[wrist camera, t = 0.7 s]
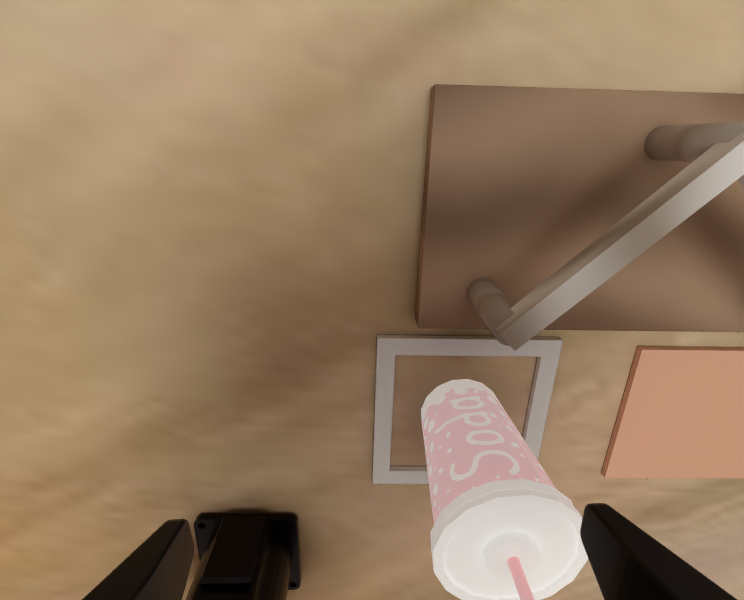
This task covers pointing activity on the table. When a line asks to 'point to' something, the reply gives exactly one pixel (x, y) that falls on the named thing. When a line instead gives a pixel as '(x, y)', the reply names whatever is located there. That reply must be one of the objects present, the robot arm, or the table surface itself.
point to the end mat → (680, 415)
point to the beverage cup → (493, 502)
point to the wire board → (582, 211)
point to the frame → (454, 346)
